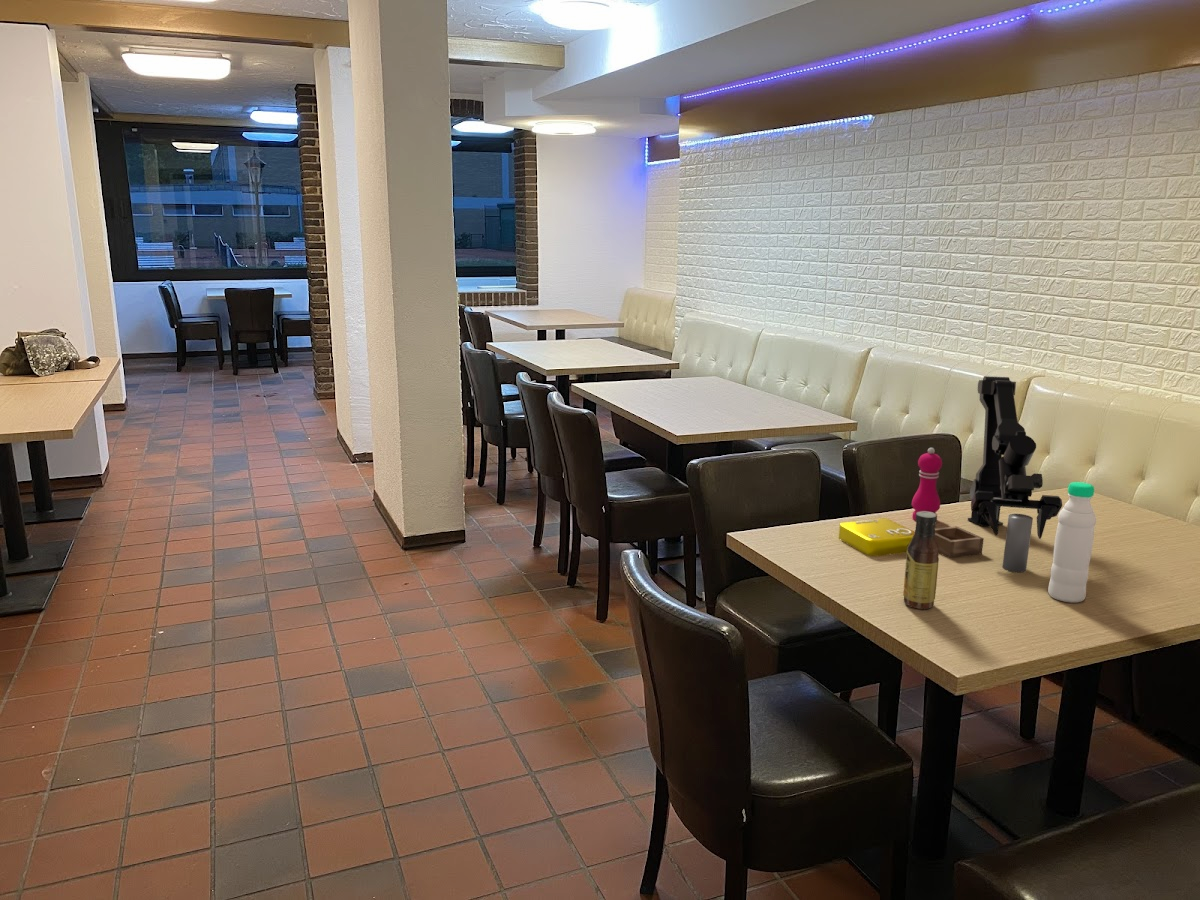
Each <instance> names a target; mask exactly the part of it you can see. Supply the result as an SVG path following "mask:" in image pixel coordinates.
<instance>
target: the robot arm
mask: <svg viewBox="0 0 1200 900" xmlns="http://www.w3.org/2000/svg"><path fill="white" fill-rule="evenodd" d="M1016 387H1017V381H1012V380H1010V377H1008V376H988V375H987V376H986V375H985V376H983V377H982V379H981V380H980V379H979V380H978V382H977V394H979V402H980V404H981V405H982V407H983V409H984V411H985V412H984V414H985V415H984V431H983V432H984V433H983V436H984V437H983V455H982V456H983V457H982V465H981V466H980V468H979V469H978V470H977V472H976V474H975V478H974V479H973V481H972V484H971V486H970V489H969V498H970V500H971V501H970V502H971V503H970V510H971V514H970V515H971V516H970V517H967V521H969V522H972V523H973V524H974V523H975V524H976V525H978V526H981V527H983V528H984V527H986V526H987V527H990V528H991V530H992V532H993V533H994V536H998V535H999V526H1002V525H1003V524H1004V522H1002V521H1000V515H1001V507H1003V508H1004V507H1006V508H1017V509H1018V508H1019V509H1031V510H1032V509H1033V510H1036V512H1037V516H1036V532H1037V538H1038V539H1040V540H1041V539H1042V536H1043V534H1044V530H1045V526H1046V523H1047V520H1048V521H1049V520H1051V519H1052V518H1055V517H1058V515H1059V513H1060V511H1061V510H1062V508H1063V500H1062V499H1061V497H1060V496H1059V495H1046V494H1042V495H1041V497H1040V499H1039V500H1038V499H1037V500H1036V499H1029V498H1031V497H1032V496H1033V491H1035V489H1041V488H1043V486H1044V485H1043V480H1044V479H1043V474H1042V473H1032V474H1031V475H1027V467H1026V466H1028V465H1029V464H1030V461H1031V460H1032V458H1033V456H1034V453H1035V452H1036V449H1037V443H1036V441H1035V440H1034V438H1032V437H1030V436H1029V435H1027V431H1026V430H1025V428H1024V427H1023V425H1021V423H1019V420H1018V414H1017V409H1016V407H1017V406H1016V401H1015V395H1016Z"/></svg>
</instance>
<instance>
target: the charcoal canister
mask: <svg viewBox="0 0 1200 900" xmlns="http://www.w3.org/2000/svg"><path fill="white" fill-rule="evenodd" d="M1007 519H1008V521H1007V526H1006V534H1005V544H1004V549H1003V550H1004V551H1003V560H1002V569H1003V570H1005V571H1007V570H1008V572H1011V573H1016V572H1017V573H1025V572H1026V571H1027V566H1028V559H1029V551H1030V542H1031V536H1032V535H1031V534H1032V527H1033V517H1032V516H1031V515H1027V514H1022V513H1010V514H1008V518H1007ZM1017 573H1016V574H1017Z"/></svg>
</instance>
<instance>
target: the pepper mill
mask: <svg viewBox="0 0 1200 900" xmlns="http://www.w3.org/2000/svg"><path fill="white" fill-rule="evenodd" d="M935 452H936V451H935V448H934V447H929V448H928V449H927V452H926V453H923V454H921V455H920V457H919V459H918V460H917V466H918V467H919V469H920V470H919V471H918V472H919V473H918V476H919V478H920V479H919V480H920V481H919V486H918V488H917V491H916V492H915V494H914V495H913V498H912V500H911V507H912V508H913V509H914V510H913V511H912V517H911V519H912V520H913V521H915V522H916V519H915V518H916V513H917V512H921V511H928V512H933V513H935V514H936V515H937V516H938V514H937V512H939V510H940V509H941V508H940V507H941V500H940V496H939V494H938V491H937V480H938V478H939V477H940V476H939V474H940V472H939V470H940V469H941V468H942V466H943V460H942V457H940V455H939V454H936V453H935Z"/></svg>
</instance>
